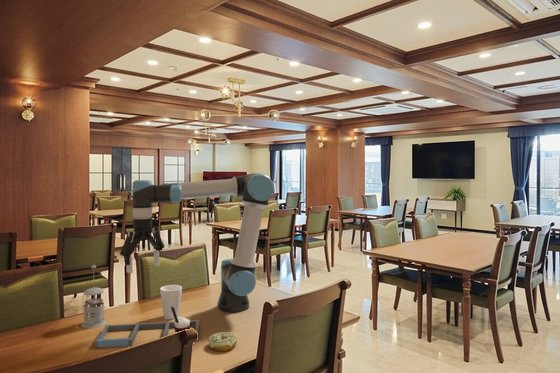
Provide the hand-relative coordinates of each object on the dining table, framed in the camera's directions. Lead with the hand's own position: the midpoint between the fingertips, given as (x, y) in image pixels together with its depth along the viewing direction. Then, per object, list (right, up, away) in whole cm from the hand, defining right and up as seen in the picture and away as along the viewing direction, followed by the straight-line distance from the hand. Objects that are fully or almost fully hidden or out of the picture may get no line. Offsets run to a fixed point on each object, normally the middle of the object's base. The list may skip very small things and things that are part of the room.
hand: (143, 269), depth 165 cm
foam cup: (+8, -24, +13) cm, 28 cm away
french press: (-23, -24, +5) cm, 34 cm away
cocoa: (+17, -25, -6) cm, 31 cm away
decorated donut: (+35, -26, -16) cm, 46 cm away
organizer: (+5, -25, -8) cm, 26 cm away
